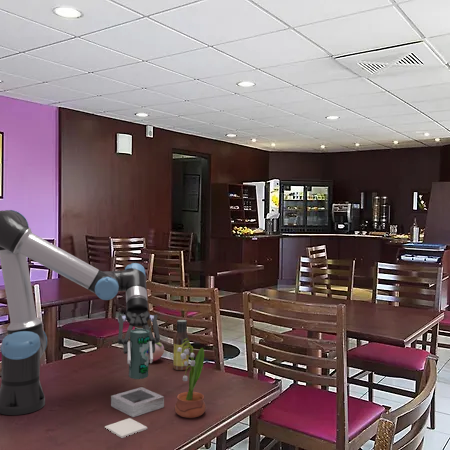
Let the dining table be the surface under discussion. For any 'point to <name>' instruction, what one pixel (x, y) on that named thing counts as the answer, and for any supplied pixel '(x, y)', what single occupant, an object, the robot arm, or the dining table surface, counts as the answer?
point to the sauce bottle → (178, 341)
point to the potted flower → (191, 386)
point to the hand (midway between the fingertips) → (140, 361)
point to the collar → (147, 403)
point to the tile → (125, 427)
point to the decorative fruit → (158, 351)
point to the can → (139, 353)
